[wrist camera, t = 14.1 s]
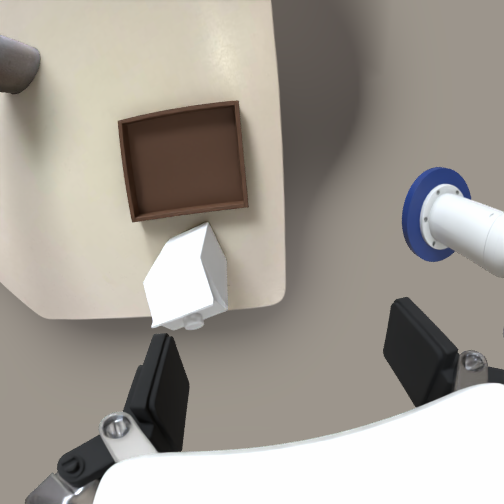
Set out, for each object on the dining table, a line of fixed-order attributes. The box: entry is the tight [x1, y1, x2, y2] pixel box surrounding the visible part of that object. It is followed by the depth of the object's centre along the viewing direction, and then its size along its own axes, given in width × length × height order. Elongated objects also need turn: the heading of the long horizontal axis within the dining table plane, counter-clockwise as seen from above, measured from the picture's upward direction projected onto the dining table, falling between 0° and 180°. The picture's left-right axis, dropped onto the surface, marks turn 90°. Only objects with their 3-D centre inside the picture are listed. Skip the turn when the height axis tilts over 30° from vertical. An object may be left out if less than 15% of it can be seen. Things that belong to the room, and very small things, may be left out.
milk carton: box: [143, 222, 228, 330], centre depth 36 cm, size 7×7×19 cm
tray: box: [118, 101, 249, 222], centre depth 38 cm, size 17×15×3 cm
